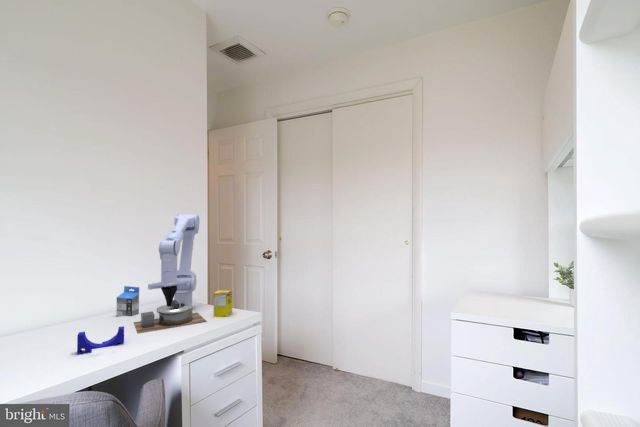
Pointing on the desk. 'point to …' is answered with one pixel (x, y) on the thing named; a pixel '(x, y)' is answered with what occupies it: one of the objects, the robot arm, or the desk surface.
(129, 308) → the grey blue carton
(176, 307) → the lid
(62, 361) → the desk surface
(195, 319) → the walnut board
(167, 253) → the robot arm
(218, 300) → the supplement box
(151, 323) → the grey dish and cube
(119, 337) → the cable clip
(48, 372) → the desk surface
